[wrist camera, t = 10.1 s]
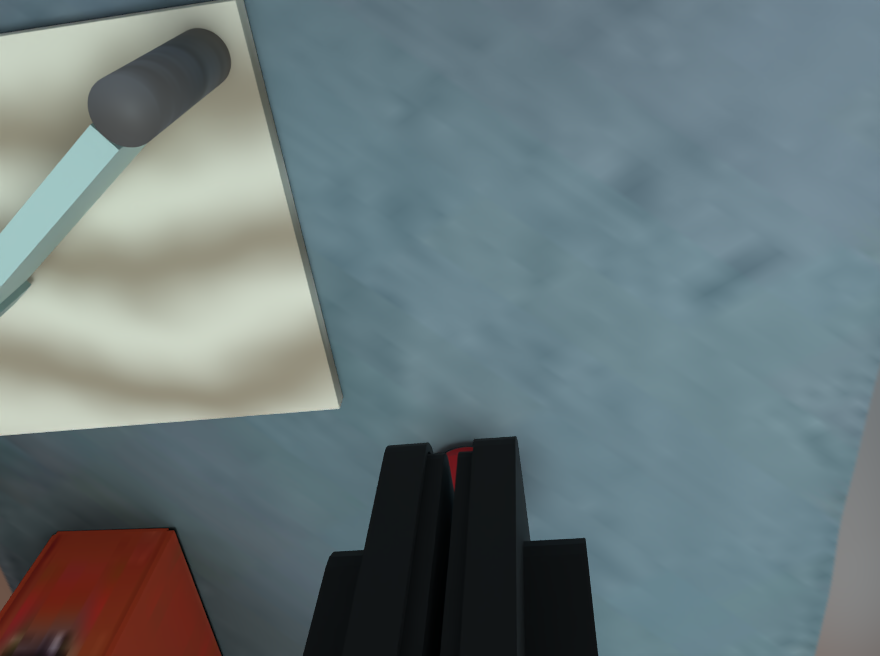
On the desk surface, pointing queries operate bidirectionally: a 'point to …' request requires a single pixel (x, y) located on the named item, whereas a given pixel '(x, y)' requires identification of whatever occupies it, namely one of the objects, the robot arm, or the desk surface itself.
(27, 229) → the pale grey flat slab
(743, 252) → the desk surface
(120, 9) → the desk surface
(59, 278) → the gate base
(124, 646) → the file binder
